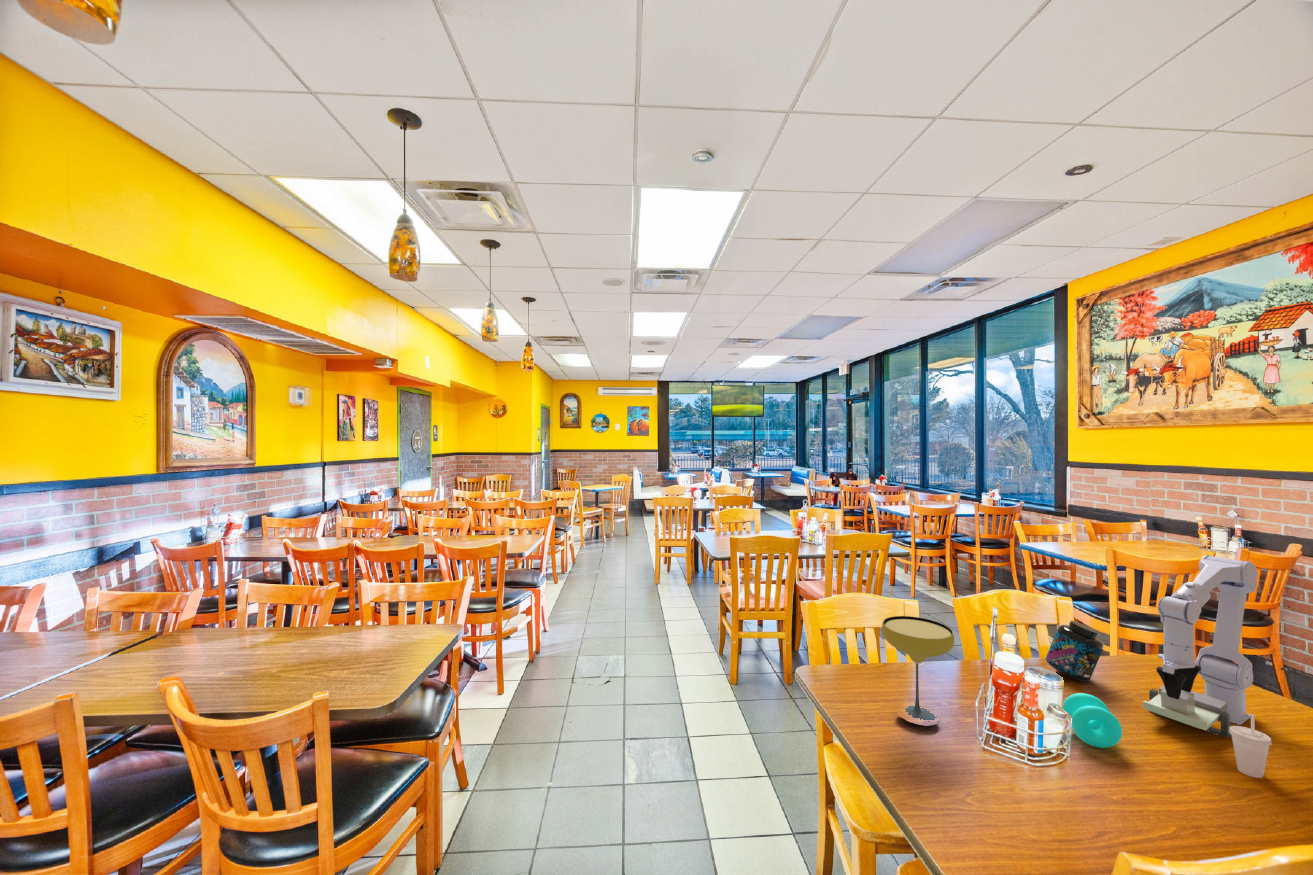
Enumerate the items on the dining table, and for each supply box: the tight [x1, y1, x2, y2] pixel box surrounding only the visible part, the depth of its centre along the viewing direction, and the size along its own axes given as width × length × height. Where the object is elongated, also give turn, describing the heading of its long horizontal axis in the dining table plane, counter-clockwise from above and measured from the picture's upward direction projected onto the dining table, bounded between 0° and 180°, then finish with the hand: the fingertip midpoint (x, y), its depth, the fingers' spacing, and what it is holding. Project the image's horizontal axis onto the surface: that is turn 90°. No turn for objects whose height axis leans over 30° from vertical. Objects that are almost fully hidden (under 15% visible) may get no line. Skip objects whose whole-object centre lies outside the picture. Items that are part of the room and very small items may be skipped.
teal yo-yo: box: [1062, 692, 1123, 749], centre depth 130 cm, size 10×10×10 cm
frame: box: [1148, 688, 1232, 739], centre depth 137 cm, size 2×15×6 cm, turn 28°
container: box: [1045, 620, 1104, 682], centre depth 164 cm, size 12×12×17 cm
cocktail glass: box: [881, 615, 955, 722], centre depth 141 cm, size 18×18×25 cm
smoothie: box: [1229, 713, 1273, 779], centre depth 116 cm, size 6×6×14 cm
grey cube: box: [1161, 689, 1195, 716], centre depth 135 cm, size 5×5×5 cm
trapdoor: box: [1142, 684, 1228, 732], centre depth 136 cm, size 16×12×4 cm
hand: (1179, 694), depth 135 cm, fingers open, 7 cm apart
